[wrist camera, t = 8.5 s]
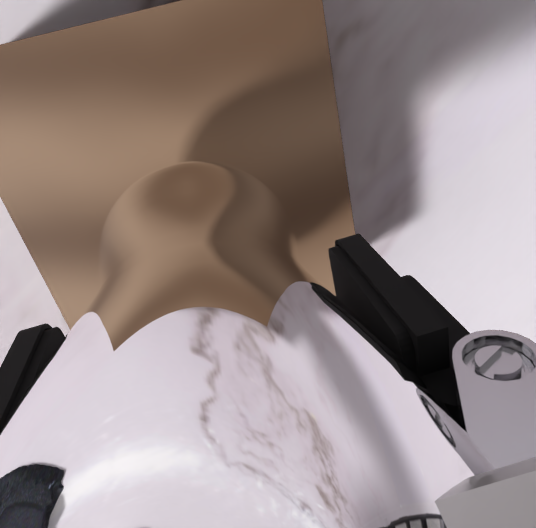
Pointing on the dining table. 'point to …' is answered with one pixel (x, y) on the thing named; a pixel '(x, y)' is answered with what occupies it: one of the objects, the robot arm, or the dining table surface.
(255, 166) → the walnut shelf stand
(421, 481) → the beer glass
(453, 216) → the dining table surface
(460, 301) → the dining table surface
